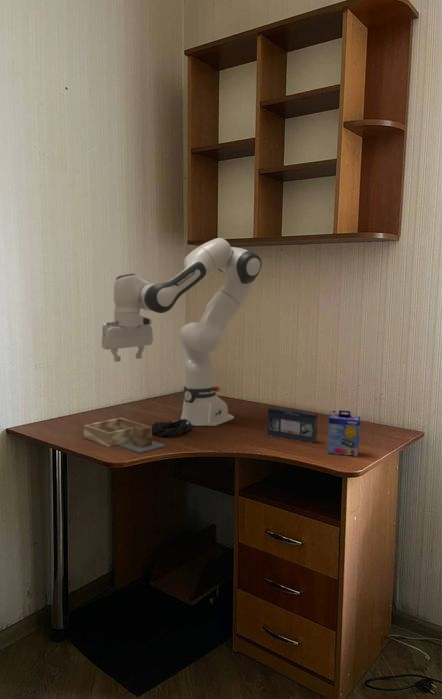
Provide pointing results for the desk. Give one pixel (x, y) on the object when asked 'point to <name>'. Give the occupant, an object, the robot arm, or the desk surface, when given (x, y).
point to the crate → (111, 431)
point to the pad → (144, 449)
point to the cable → (180, 427)
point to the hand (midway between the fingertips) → (128, 360)
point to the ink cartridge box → (343, 434)
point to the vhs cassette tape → (292, 424)
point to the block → (142, 436)
